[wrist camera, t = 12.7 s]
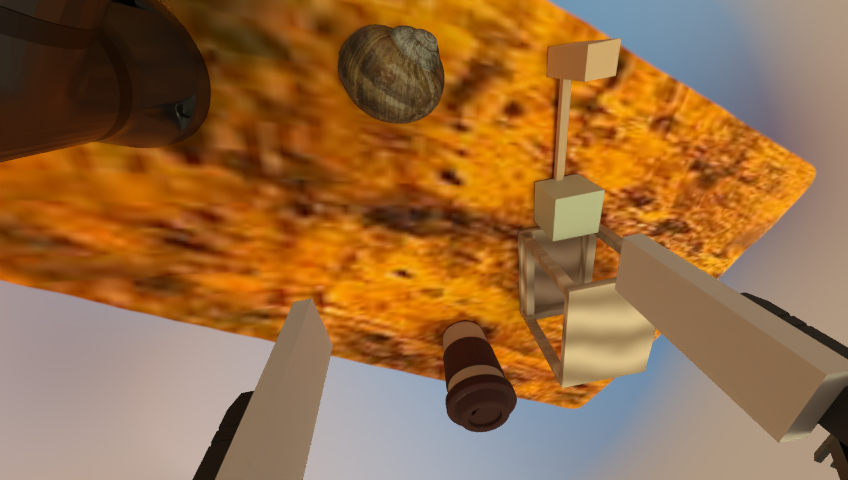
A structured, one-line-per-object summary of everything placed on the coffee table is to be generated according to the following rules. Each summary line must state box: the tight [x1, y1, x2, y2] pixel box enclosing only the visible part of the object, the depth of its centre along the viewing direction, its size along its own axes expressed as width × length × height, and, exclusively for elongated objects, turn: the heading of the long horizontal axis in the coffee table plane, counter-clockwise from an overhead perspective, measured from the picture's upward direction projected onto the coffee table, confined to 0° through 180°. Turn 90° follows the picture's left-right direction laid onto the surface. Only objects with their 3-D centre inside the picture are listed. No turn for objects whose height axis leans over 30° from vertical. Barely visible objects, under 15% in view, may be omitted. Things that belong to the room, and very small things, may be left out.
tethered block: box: [534, 38, 621, 241], centre depth 36 cm, size 22×6×8 cm, turn 10°
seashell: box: [338, 25, 444, 123], centre depth 30 cm, size 11×9×8 cm
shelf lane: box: [518, 223, 656, 388], centre depth 42 cm, size 16×11×15 cm
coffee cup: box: [443, 321, 517, 432], centre depth 47 cm, size 10×10×15 cm
